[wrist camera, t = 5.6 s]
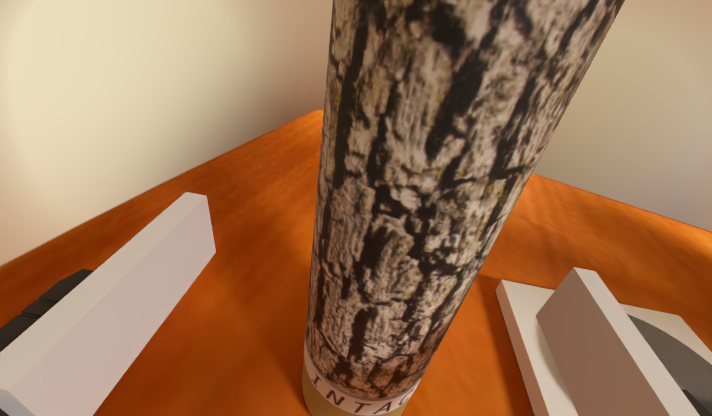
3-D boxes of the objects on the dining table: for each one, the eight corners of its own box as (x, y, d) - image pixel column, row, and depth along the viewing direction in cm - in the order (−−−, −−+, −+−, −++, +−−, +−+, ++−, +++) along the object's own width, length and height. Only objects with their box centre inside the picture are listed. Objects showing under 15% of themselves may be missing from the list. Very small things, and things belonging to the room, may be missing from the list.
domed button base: (667, 325, 28) (687, 308, 27) (898, 609, 15) (963, 605, 13) (495, 290, 29) (506, 272, 27) (572, 535, 15) (602, 524, 14)
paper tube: (301, 337, 22) (341, -219, 8) (391, 334, 23) (568, -149, 9) (299, 453, 16) (425, -708, 2) (417, 440, 18) (964, -356, 4)
